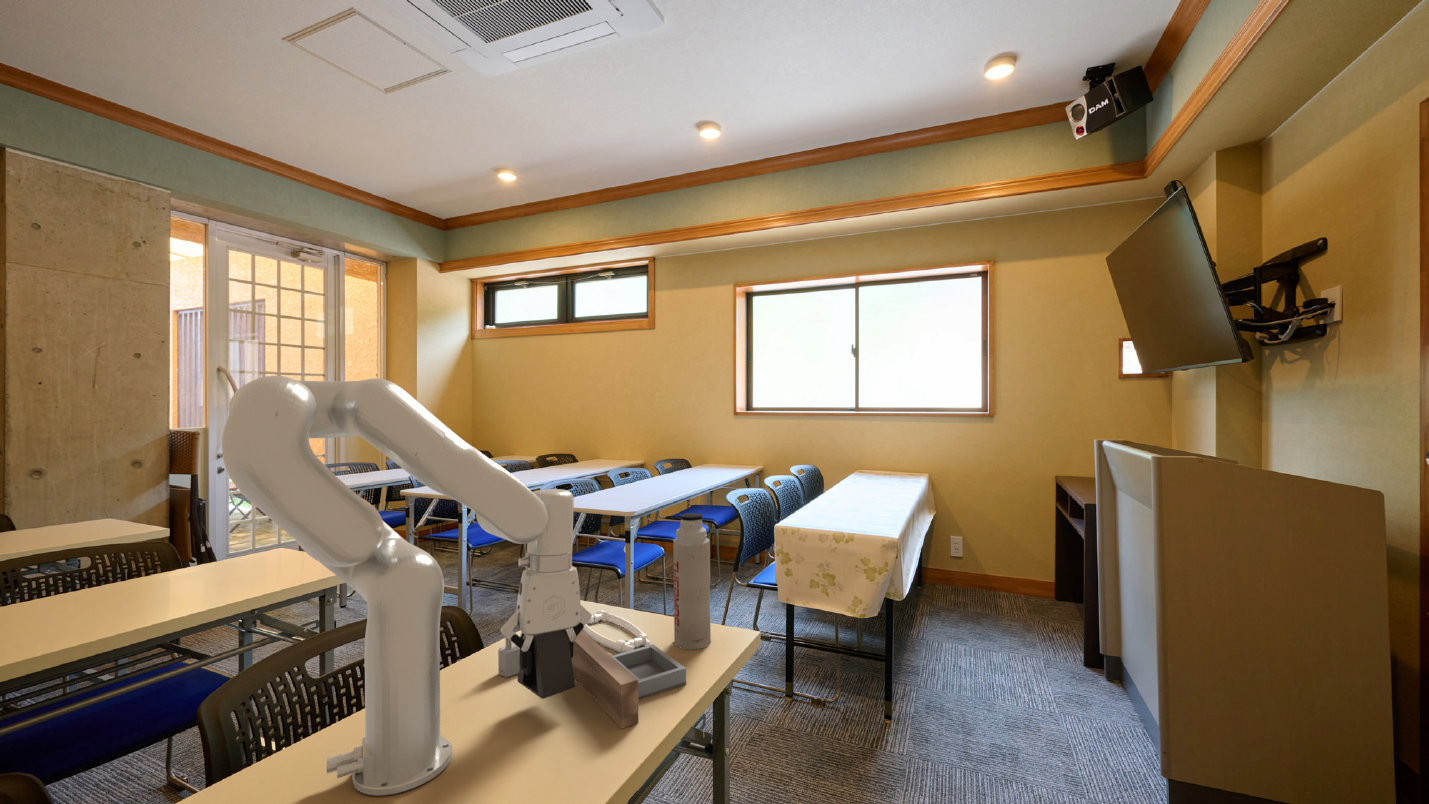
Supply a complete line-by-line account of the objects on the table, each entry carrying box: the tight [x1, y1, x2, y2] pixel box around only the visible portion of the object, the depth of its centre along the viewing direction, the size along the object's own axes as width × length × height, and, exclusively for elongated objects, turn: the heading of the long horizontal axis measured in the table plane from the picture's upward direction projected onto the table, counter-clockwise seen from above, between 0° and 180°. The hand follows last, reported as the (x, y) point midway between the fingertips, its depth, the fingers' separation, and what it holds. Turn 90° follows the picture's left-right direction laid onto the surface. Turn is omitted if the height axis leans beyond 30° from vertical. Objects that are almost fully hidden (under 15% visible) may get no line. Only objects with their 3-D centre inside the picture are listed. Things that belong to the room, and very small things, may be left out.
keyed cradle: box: [611, 644, 687, 701], centre depth 108 cm, size 10×13×3 cm
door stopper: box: [517, 630, 576, 700], centre depth 97 cm, size 9×6×12 cm, turn 45°
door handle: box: [582, 609, 652, 654], centre depth 129 cm, size 3×10×25 cm
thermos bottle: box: [672, 512, 712, 650], centre depth 125 cm, size 8×8×28 cm
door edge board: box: [571, 630, 639, 729], centre depth 103 cm, size 3×26×7 cm, turn 34°
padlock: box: [497, 625, 520, 678], centre depth 112 cm, size 7×4×10 cm, turn 140°
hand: (546, 666), depth 97 cm, fingers closed on door stopper, 6 cm apart
